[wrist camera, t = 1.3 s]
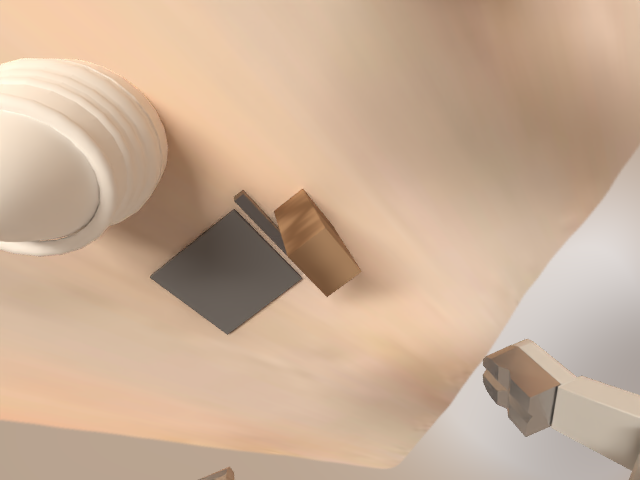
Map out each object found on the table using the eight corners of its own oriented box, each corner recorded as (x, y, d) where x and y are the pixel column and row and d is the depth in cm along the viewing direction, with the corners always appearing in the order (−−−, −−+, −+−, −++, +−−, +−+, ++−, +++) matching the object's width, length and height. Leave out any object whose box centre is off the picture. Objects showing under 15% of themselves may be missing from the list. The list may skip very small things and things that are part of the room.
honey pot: (128, 230, 34) (46, 368, 19) (-26, 157, 29) (-325, 269, 13) (194, 125, 31) (161, 186, 16) (37, 19, 26) (-255, -47, 10)
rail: (242, 189, 35) (243, 193, 34) (319, 271, 42) (321, 277, 41) (234, 196, 35) (234, 201, 34) (311, 277, 42) (313, 282, 41)
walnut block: (302, 188, 37) (325, 227, 28) (332, 226, 40) (361, 271, 31) (273, 211, 37) (287, 256, 29) (306, 246, 40) (327, 297, 32)
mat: (234, 208, 36) (234, 210, 36) (301, 276, 42) (301, 278, 42) (150, 275, 37) (150, 277, 37) (227, 332, 43) (227, 334, 43)
